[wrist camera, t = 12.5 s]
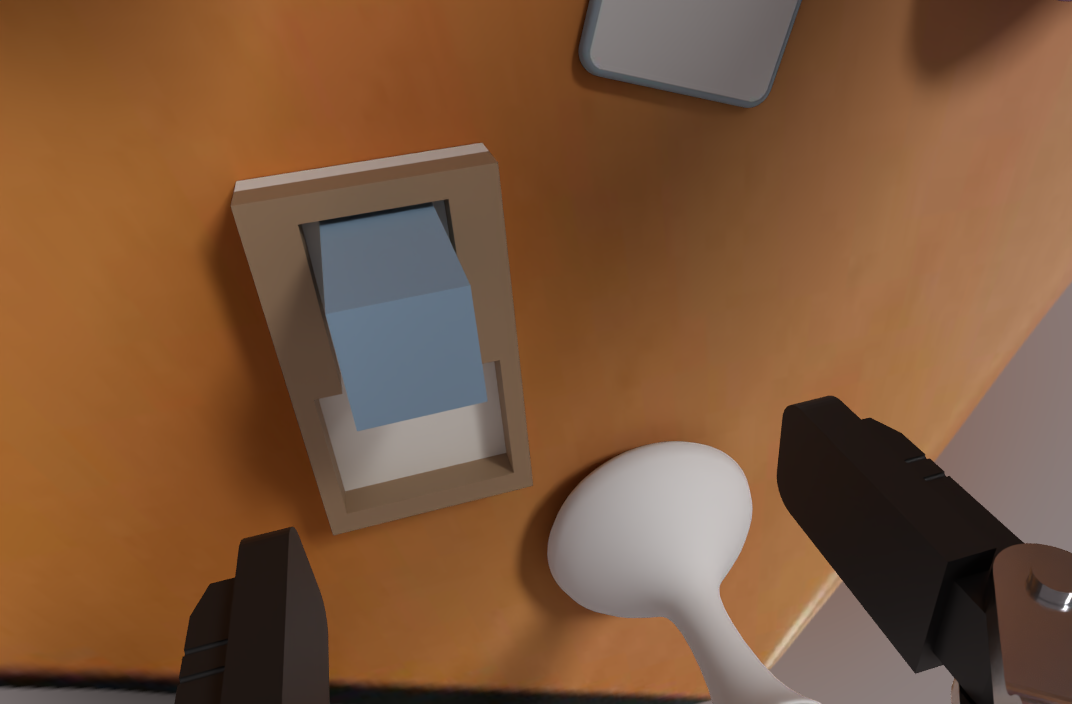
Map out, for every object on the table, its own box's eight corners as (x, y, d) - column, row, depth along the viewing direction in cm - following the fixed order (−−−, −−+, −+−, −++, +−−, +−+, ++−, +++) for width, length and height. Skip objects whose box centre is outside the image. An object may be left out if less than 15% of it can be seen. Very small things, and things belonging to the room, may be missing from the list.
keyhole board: (482, 142, 28) (497, 162, 26) (518, 450, 36) (533, 485, 34) (236, 181, 26) (230, 205, 24) (330, 494, 34) (333, 535, 32)
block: (428, 195, 27) (470, 284, 21) (444, 291, 29) (487, 401, 23) (318, 214, 27) (325, 314, 20) (343, 311, 29) (357, 431, 22)
